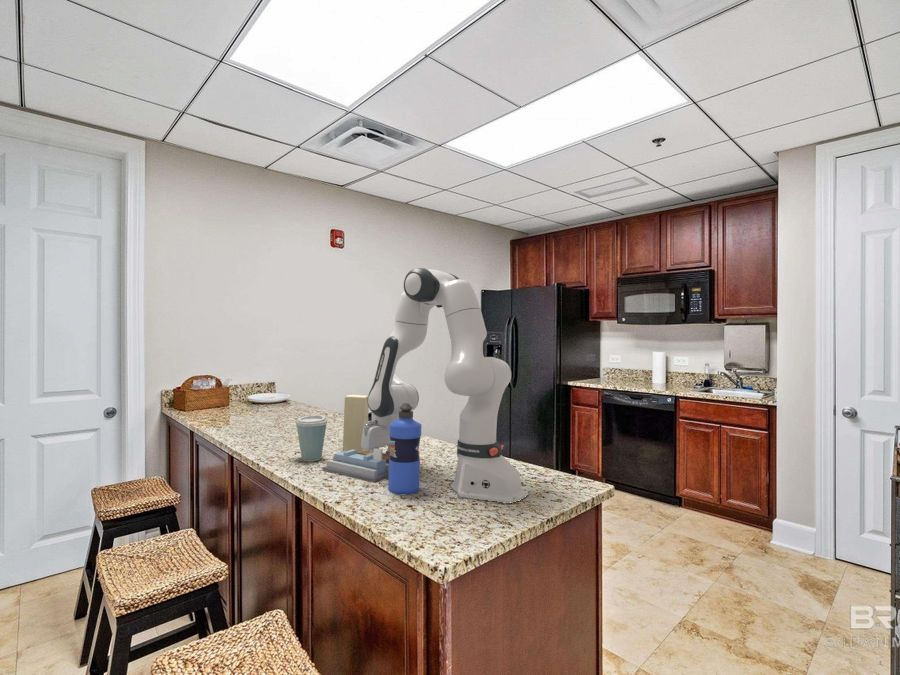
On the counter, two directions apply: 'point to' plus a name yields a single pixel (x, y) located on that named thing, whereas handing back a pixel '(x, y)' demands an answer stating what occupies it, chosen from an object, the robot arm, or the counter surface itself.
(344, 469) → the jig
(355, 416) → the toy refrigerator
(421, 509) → the counter surface
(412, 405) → the robot arm
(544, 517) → the counter surface
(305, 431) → the disposable coffee cup
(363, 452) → the brown long rectangular bar
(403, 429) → the water bottle
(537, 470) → the counter surface
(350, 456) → the pale blue tabbed body
